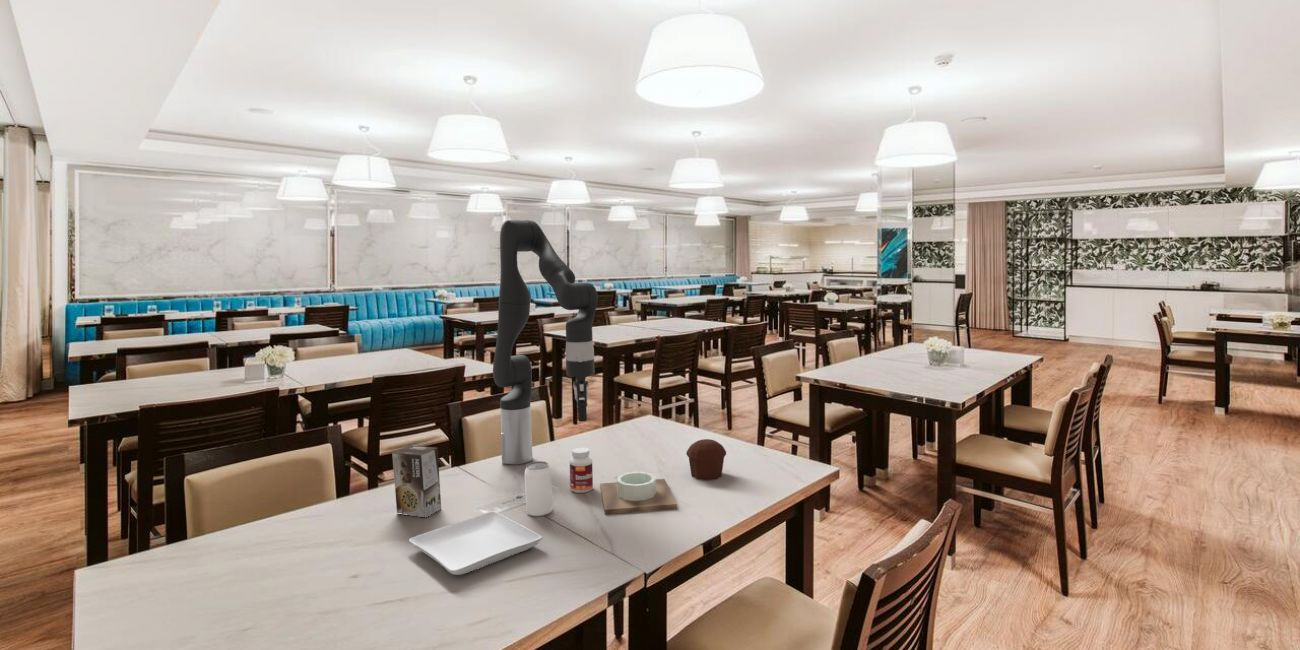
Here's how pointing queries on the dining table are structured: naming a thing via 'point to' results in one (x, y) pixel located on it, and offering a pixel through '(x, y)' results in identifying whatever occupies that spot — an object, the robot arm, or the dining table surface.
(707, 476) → the muffin
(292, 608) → the dining table surface
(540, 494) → the can
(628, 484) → the pale green bowl
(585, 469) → the pill bottle
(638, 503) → the walnut board
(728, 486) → the dining table surface
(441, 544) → the salad plate
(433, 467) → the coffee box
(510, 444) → the robot arm
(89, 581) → the dining table surface
